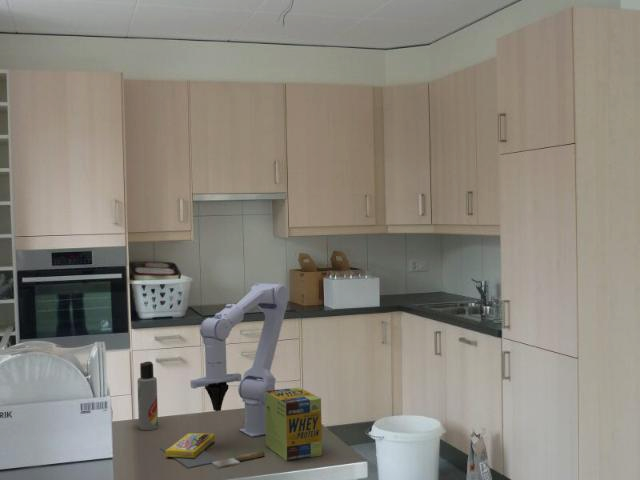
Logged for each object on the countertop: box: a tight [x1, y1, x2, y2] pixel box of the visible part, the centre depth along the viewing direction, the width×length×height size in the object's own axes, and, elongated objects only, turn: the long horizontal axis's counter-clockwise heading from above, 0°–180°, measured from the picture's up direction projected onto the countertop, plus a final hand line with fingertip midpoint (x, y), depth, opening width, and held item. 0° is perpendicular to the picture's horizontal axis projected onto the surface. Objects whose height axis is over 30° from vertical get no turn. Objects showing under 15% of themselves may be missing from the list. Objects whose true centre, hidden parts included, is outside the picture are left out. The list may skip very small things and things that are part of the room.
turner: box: [212, 450, 265, 469], centre depth 207 cm, size 14×4×1 cm, turn 122°
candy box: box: [164, 432, 216, 458], centre depth 217 cm, size 16×2×8 cm
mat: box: [159, 444, 220, 469], centre depth 213 cm, size 9×20×1 cm, turn 32°
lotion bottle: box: [137, 361, 159, 431], centre depth 239 cm, size 6×6×20 cm
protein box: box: [265, 387, 323, 462], centre depth 215 cm, size 10×15×16 cm
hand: (217, 410), depth 219 cm, fingers closed
